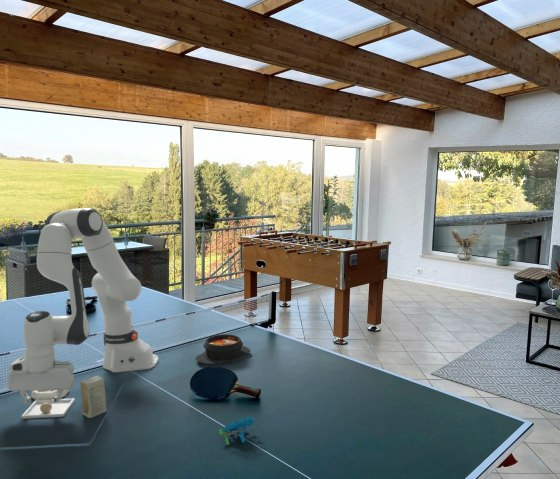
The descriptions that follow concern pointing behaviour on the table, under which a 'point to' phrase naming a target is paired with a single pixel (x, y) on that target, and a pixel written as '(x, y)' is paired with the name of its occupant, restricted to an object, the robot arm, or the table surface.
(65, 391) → the bowl
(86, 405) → the skincare box
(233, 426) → the blue plastic piece
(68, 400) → the parts tray
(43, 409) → the pebble sand
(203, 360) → the casserole
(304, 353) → the table surface
